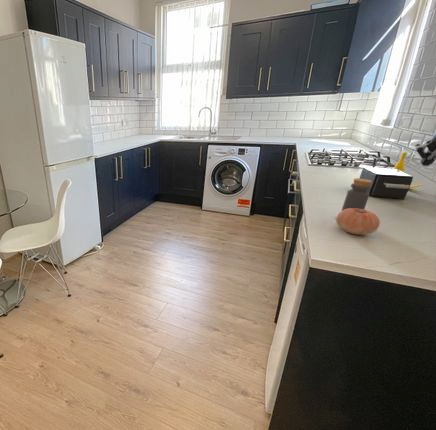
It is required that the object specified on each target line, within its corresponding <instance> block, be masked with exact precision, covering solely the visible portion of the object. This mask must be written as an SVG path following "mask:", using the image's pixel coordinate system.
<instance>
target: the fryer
mask: <svg viewBox="0 0 436 430" xmlns="http://www.w3.org/2000/svg"><path fill="white" fill-rule="evenodd" d="M378 176H387V177H401V178H408V179H413V178H414V176H413V175H411V174H408V173H406V172H405V171H404V172H402V171H399V170H397V169H393V168H384V167H369V166H363V167H362V170H361V172H360V176H359V178H360V179H367V180H371V181H372V182H371V184H370V185H369V186H371V188H370V189H369V190H367V192H368V193H369V197H378V198H387V199H388V198H389V199H399V200H400V199H401V200H405V198H399V197H388V196H377V195H371V193H372V190H373V188H374V185H375V182H376V179H377V177H378ZM413 180H414V179H413Z"/></svg>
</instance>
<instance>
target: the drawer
mask: <svg viewBox="0 0 436 430" xmlns="http://www.w3.org/2000/svg"><path fill="white" fill-rule="evenodd" d="M413 180H414V179H408V178H401V177H387V176H378V177H377V179H376V182H375V185H374V188H373V190H372V193H371V195H377V196H388V197H399V198H404V199H406V197H407V195H408V191H409V190H410V188H409V187H410V186H412V182H413ZM377 196H376V197H377Z"/></svg>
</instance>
